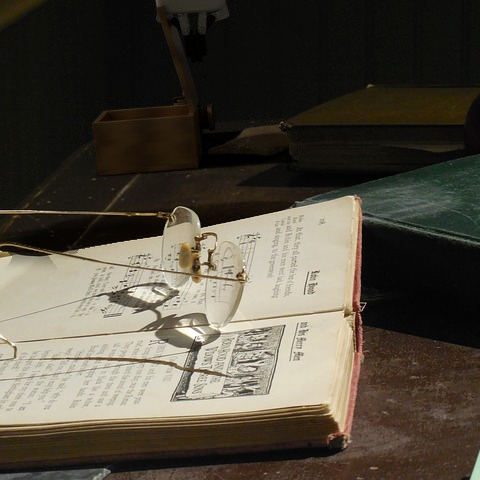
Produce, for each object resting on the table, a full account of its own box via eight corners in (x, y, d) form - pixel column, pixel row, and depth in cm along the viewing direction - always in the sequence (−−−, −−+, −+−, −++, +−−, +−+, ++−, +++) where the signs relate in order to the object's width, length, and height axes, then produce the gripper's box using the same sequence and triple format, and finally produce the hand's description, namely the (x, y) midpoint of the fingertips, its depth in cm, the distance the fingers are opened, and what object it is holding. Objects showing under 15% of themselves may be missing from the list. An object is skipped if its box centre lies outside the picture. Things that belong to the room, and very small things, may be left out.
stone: (309, 143, 153) (307, 123, 152) (252, 163, 140) (251, 141, 139) (253, 140, 158) (252, 121, 157) (194, 159, 146) (192, 138, 145)
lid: (156, 7, 133) (162, 5, 133) (163, 3, 144) (168, 1, 144) (190, 113, 138) (195, 111, 138) (194, 101, 149) (199, 99, 149)
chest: (99, 175, 139) (91, 123, 137) (109, 159, 150) (103, 110, 148) (198, 168, 140) (193, 115, 138) (202, 152, 151) (197, 103, 149)
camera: (212, 151, 152) (207, 101, 149) (170, 154, 152) (164, 104, 149) (220, 132, 167) (216, 87, 165) (182, 134, 167) (177, 89, 165)
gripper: (236, -71, 140) (247, 55, 145) (135, -64, 139) (149, 62, 145) (236, -72, 133) (247, 60, 138) (128, -65, 132) (144, 67, 137)
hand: (197, 61), depth 141 cm, fingers closed
